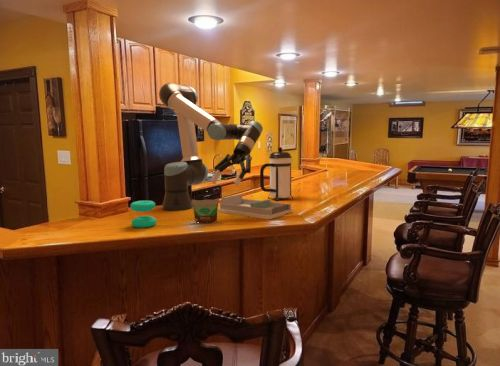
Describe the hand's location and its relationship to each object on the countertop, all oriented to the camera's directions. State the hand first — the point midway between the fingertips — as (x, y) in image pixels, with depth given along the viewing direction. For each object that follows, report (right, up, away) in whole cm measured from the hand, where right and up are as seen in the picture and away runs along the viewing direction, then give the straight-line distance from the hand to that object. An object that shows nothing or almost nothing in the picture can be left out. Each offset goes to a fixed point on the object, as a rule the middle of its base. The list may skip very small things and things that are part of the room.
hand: (224, 183), depth 165 cm
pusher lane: (+14, -14, +14) cm, 24 cm away
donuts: (-33, -18, -10) cm, 39 cm away
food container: (-7, -17, -6) cm, 19 cm away
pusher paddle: (+15, -12, +13) cm, 23 cm away
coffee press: (+28, -10, +48) cm, 57 cm away
